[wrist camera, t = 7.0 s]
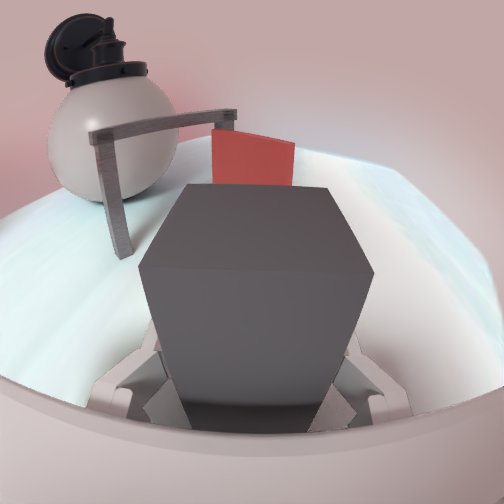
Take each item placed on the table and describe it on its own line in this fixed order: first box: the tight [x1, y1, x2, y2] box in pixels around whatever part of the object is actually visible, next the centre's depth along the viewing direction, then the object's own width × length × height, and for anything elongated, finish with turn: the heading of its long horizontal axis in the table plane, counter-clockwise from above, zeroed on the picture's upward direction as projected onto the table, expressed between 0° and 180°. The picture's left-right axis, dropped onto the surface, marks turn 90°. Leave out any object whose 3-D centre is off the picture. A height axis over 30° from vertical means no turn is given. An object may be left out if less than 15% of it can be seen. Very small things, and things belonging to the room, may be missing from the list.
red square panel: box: [212, 128, 295, 186], centre depth 27 cm, size 10×1×10 cm, turn 44°
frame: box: [88, 109, 237, 260], centre depth 27 cm, size 16×2×12 cm, turn 134°
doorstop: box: [138, 184, 374, 434], centre depth 10 cm, size 4×4×12 cm
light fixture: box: [44, 13, 179, 202], centre depth 32 cm, size 20×23×33 cm
